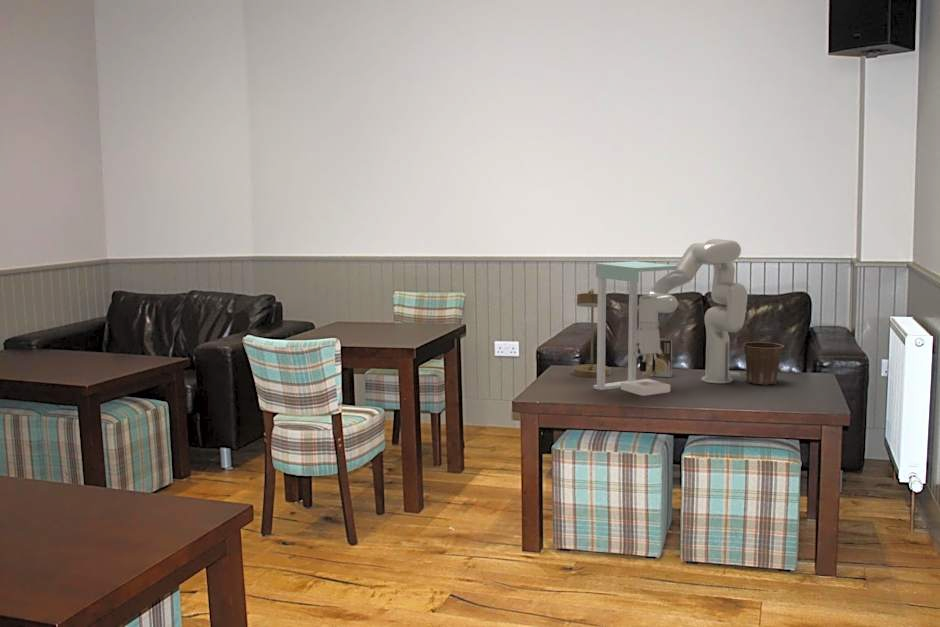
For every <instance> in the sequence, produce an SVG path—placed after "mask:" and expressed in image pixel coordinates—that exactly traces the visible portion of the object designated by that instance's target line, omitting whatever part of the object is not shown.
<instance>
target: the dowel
mask: <svg viewBox="0 0 940 627" xmlns="http://www.w3.org/2000/svg"><path fill="white" fill-rule="evenodd" d="M645 362H646V372H643V371H641V372H642V373H641V374H642V377H646V378H652V377H653V376H652V367H653V354H652V353H650V354H646V358H645Z"/></svg>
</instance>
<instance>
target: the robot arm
mask: <svg viewBox="0 0 940 627" xmlns="http://www.w3.org/2000/svg"><path fill="white" fill-rule="evenodd" d="M741 252H742V248H741V245H740V244H739V243H738V241H736V240H731V239H729V240H728V239H717V238H716V239H715V238H714V239H709V240H707V241H706V242H705V243H701V242H699V243H698V242H696V243H692V244H690V245H689V246H688V247H687V249H686V251H685V252H684V253H683V255H682V256H681V258H680V259H679V260H678V262H677V264H675V265H676V266H677V270H670V272H668V273H666V274H665V275H663V277H661V278H660V279H658V280H657V281H656V282H655V283H654V284H653V286H651V288H650V290H649V292H648V293H647V294H644V295H640V296H639V299H638V328H637V332H636V337H635V347H634V351H635V352H634V354H633V355H634V356H635V357H636V360H638V361H639V371H640V372H642V371H643V372H646V362H645V358H646V354H650V353H652V354H653V367H652V370H653V371H655V361H656V360H657V357H658V356H659V355H660V354H661V353H662V350H661V349H660V338H661V336H660V335H661V334H660V330H659V326H660V322H659V313H660V314H661V313H662V314H671V313H672V312H675V311H676V309H677V308H678V304H679V303H678V299H677V298H676V297H675V296H674V295H672V294H668V293H669V292H671V291H672V290H673V289H676V288H677V287H681V286H684V285H686V284H689V283H691V281H692V280H693V279H694V277H695V276H696V274H697V273H698V271H699V270H700V268H701V267H702V265H706V266H707V265H708V266H712V267H713V279H712V284H711V293H710V295H711V296H710V297H711V299H712V301H713V302H714V303H717V304H720V305H727V307H724V306H713V307H710V308H708V309H707V310H706V311H705V314H704V326H705V334H706V336H705V337H706V342H705V343H706V345H705V375H704V376H702V377H701V381H702V382H704V383H709V384H710V383H711V384H731V383H732V382H733V377H735V378H739V377H741V372H736V371H731V370H729V369H730V346H731V345H730V344H731V342H730V336H729V333H737V332H740V330H741V329H742V328H743V326H744V324H745V320H746V312H747V306H748V291H747V288H746V287H745V285H743V284H741V283H740V282H739V283H738V282H735V275H736V274H735V273H736V270H735V265H734V263H733V262H734V261H736V260H738V258H739V257H740V256H741V254H742V253H741Z"/></svg>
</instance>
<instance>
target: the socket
mask: <svg viewBox="0 0 940 627" xmlns="http://www.w3.org/2000/svg"><path fill="white" fill-rule="evenodd" d="M626 381H627V382H622V381H620V382H621V388H620V390H621V391H624V392H627V393H632V394H635V395H638V396H642V397H645V396H651V395H653V396H654V395H659V394H665V393H671V384H669V383H665V382H661V381H657V380H654V379H650V378H644V379H643V378H642V379H636V380H635V381H628V380H626Z"/></svg>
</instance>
